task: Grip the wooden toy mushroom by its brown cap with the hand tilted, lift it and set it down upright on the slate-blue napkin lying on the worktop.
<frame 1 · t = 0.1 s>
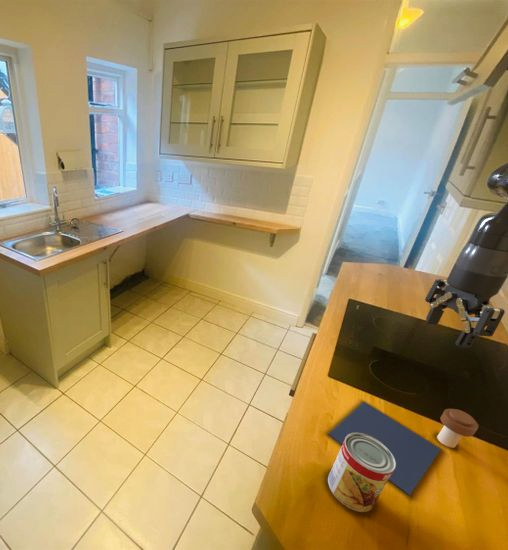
hand: (445, 334, 66), 26 cm above the countertop, tool pointing down, fingers open, 8 cm apart
canned food: (349, 490, 61), on the countertop
napkin: (383, 442, 71), on the countertop
mushroom: (446, 441, 71), on the countertop
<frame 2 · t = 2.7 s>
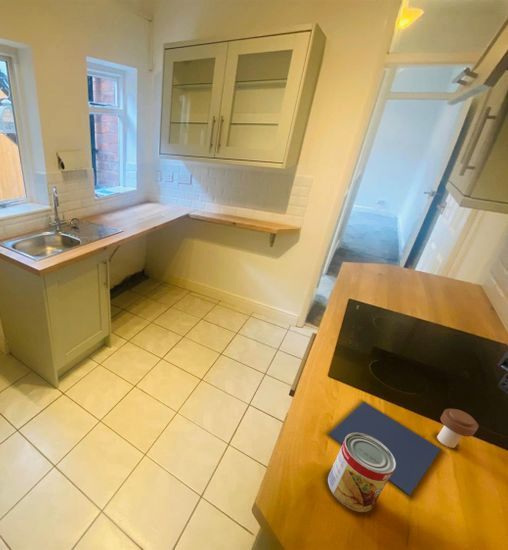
nothing on the countertop moved.
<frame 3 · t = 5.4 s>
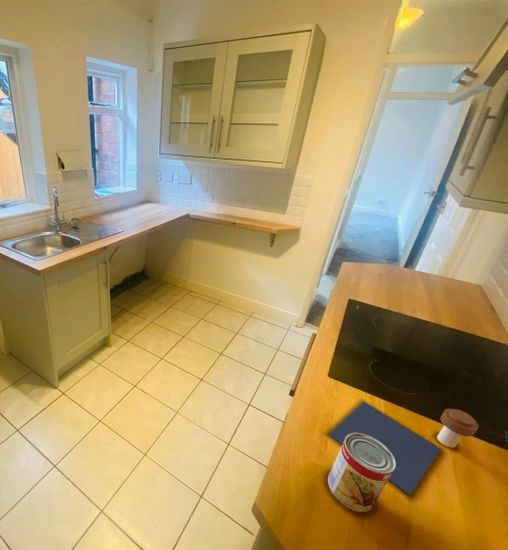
nothing on the countertop moved.
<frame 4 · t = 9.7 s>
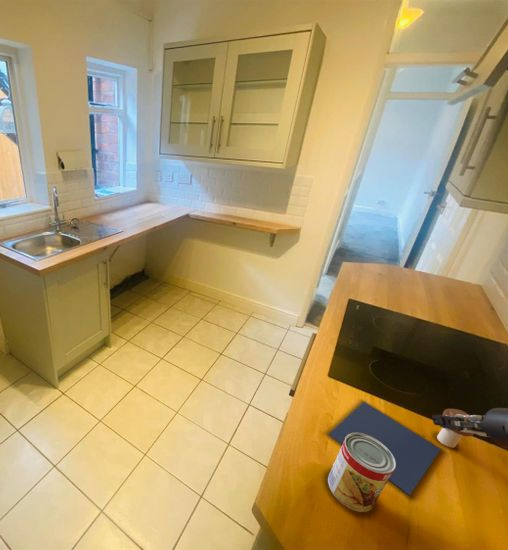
hand: (448, 421, 71), 5 cm above the countertop, tool tilted 45°, fingers closed on mushroom, 5 cm apart
mushroom: (445, 441, 71), on the countertop, touching gripper
everything else where it was.
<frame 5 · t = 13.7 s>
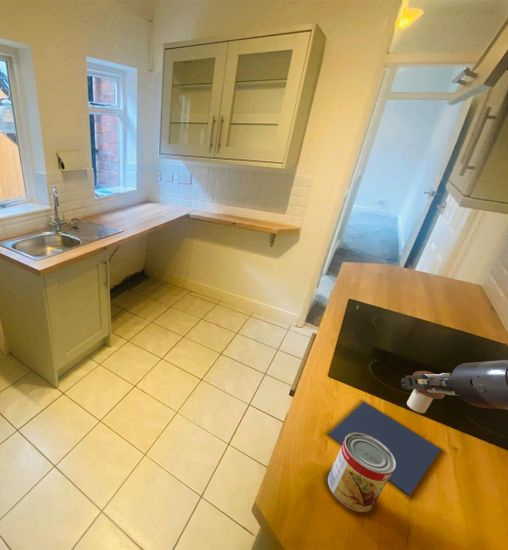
hand: (418, 384, 65), 16 cm above the countertop, tool tilted 45°, fingers closed on mushroom, 5 cm apart
mushroom: (416, 407, 66), point 12 cm above the countertop, touching gripper
everything else where it was.
when the fingers open (5 cm above the countertop, at t = 17.6 s): mushroom stays where it is, resting on napkin.
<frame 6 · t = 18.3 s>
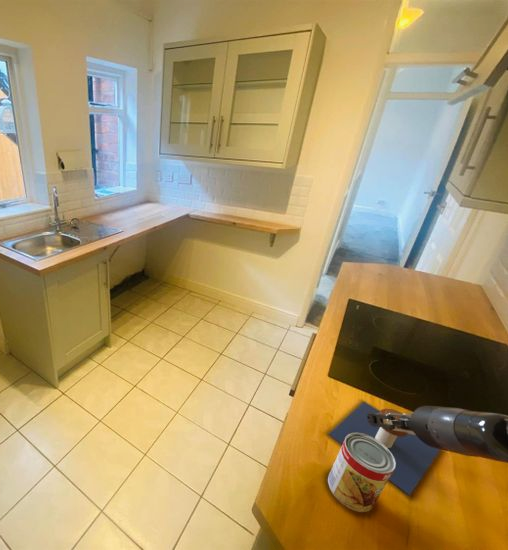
hand: (389, 419, 69), 6 cm above the countertop, tool tilted 45°, fingers open, 8 cm apart
mushroom: (383, 441, 71), resting on napkin
everything else where it was.
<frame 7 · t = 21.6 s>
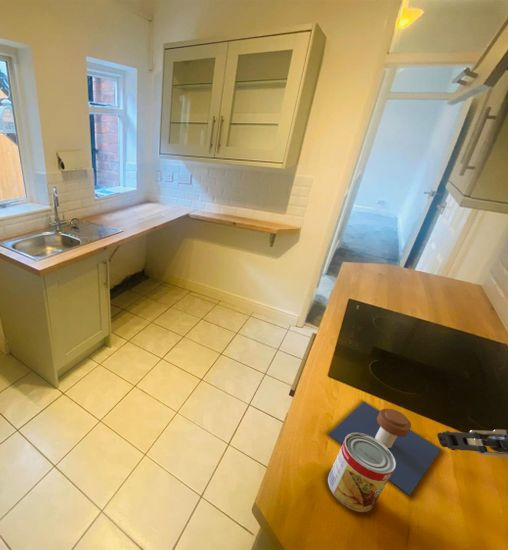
hand: (467, 441, 53), 17 cm above the countertop, tool tilted 40°, fingers open, 8 cm apart
nothing on the countertop moved.
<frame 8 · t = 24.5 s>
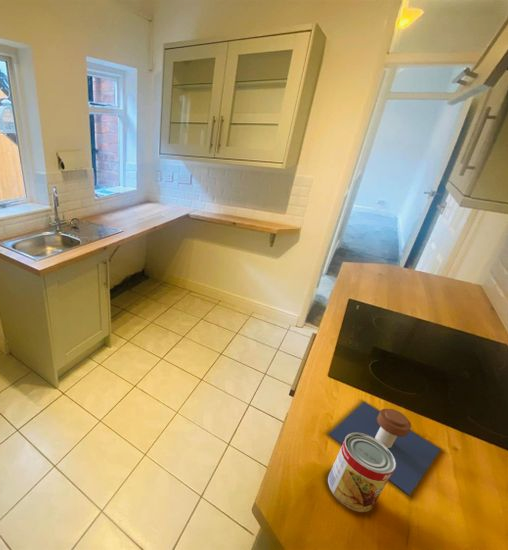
nothing on the countertop moved.
at the end: mushroom inside the target area on the napkin (0.1 cm from its centre), point 0.3 cm above the napkin's base; mushroom tilted 0°; the gripper is holding nothing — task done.
